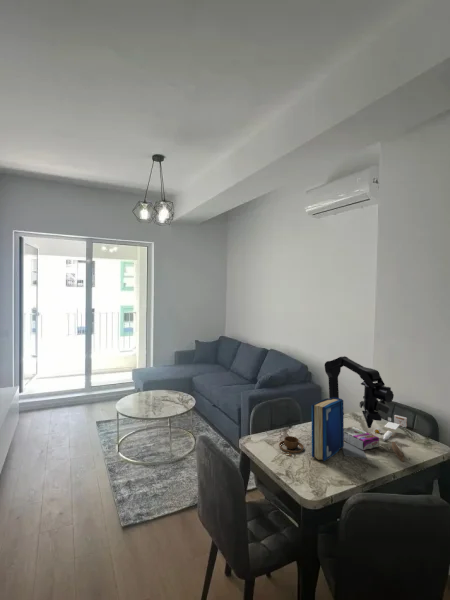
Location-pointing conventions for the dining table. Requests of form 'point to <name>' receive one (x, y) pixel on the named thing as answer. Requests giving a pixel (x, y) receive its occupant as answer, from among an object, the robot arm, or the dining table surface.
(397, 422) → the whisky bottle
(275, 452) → the dining table surface
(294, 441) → the brown cup and saucer
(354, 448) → the mat
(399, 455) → the back rail
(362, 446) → the candy bar box
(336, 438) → the book
